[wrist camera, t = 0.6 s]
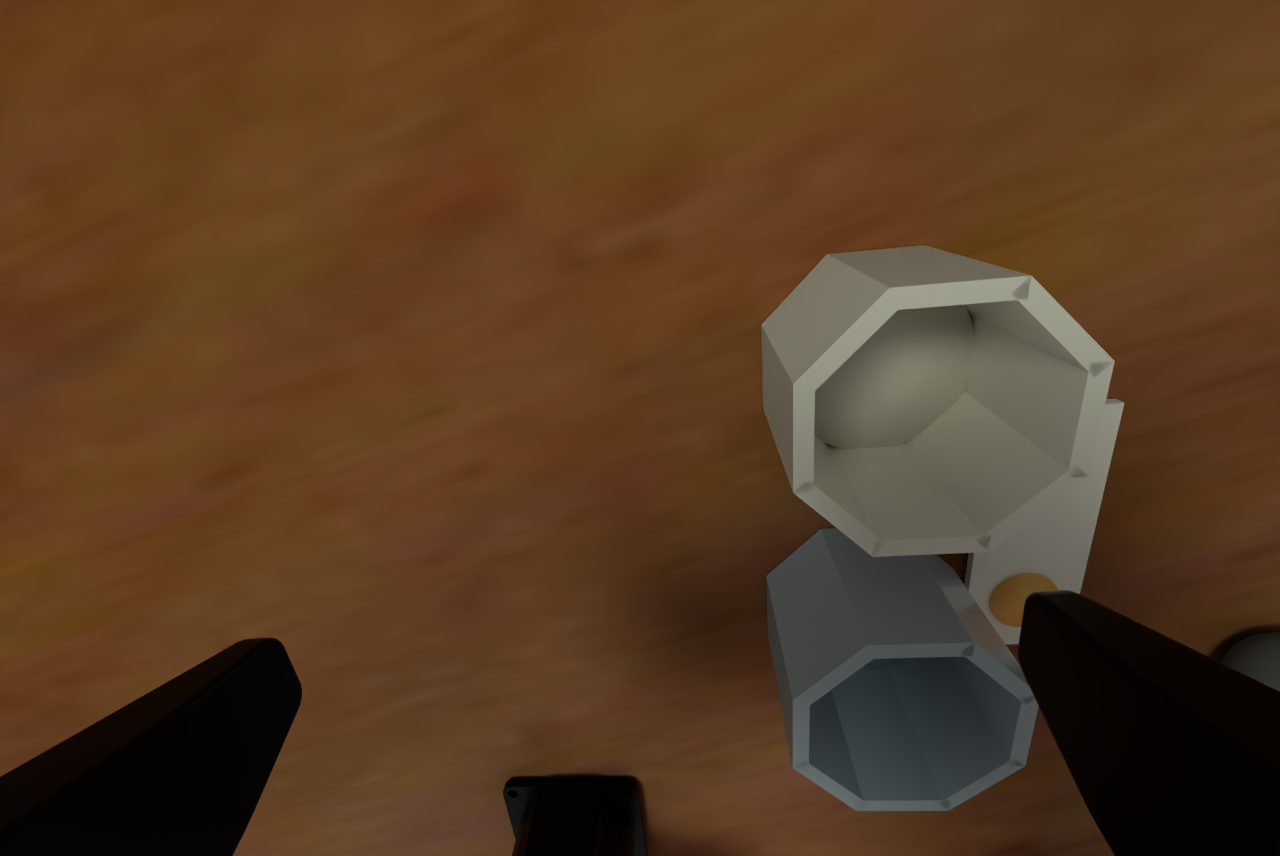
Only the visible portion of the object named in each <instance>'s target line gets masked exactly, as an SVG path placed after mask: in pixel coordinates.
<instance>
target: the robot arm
mask: <svg viewBox="0 0 1280 856" xmlns="http://www.w3.org/2000/svg"><path fill="white" fill-rule="evenodd" d="M1018 658H1019V663H1020V666H1021V669H1022V672H1023V674H1024V676H1025V678H1026V680H1027V683H1028V685H1029V687H1030V689H1031V691H1032V693H1033V695H1034V697H1035V699H1036V702H1037V704H1038V706H1039V708H1040V710H1041V712H1042V714H1043V716H1044V718H1045V720H1046V723H1047V725H1048V727H1049V729H1050V731H1051V733H1052V735H1053V737H1054V739H1055V742H1056V744H1057V746H1058V748H1059V750H1060V752H1061V754H1062V756H1063V758H1064V760H1065V763H1066V765H1067V767H1068V769H1069V771H1070V773H1071V775H1072V777H1073V779H1074V781H1075V784H1076V786H1077V788H1078V790H1079V792H1080V794H1081V796H1082V798H1083V800H1084V802H1085V804H1086V806H1087V808H1088V810H1089V812H1090V814H1091V815H1092V817H1093V819H1094V821H1095V822H1096V824H1097V826H1098V828H1099V829H1100V831H1101V833H1102V835H1103V836H1104V838H1105V840H1106V842H1107V843H1108V845H1109V847H1110V848H1111V850H1112V852H1113V853H1114V855H1115V856H1280V691H1278V690H1276V689H1274V688H1272V687H1269V686H1267V685H1265V684H1263V683H1261V682H1259V681H1257V680H1255V679H1253V678H1251V677H1249V676H1247V675H1245V674H1243V673H1241V672H1239V671H1237V670H1235V669H1232V668H1230V667H1228V666H1226V665H1224V664H1222V663H1220V662H1218V661H1216V660H1214V659H1212V658H1210V657H1208V656H1206V655H1204V654H1202V653H1200V652H1197V651H1195V650H1193V649H1191V648H1189V647H1187V646H1185V645H1183V644H1181V643H1179V642H1177V641H1175V640H1173V639H1171V638H1169V637H1167V636H1165V635H1162V634H1160V633H1158V632H1156V631H1154V630H1152V629H1150V628H1148V627H1146V626H1144V625H1142V624H1140V623H1138V622H1136V621H1134V620H1132V619H1130V618H1127V617H1125V616H1123V615H1121V614H1119V613H1117V612H1115V611H1113V610H1111V609H1109V608H1107V607H1105V606H1103V605H1101V604H1099V603H1097V602H1095V601H1092V600H1090V599H1088V598H1086V597H1084V596H1082V595H1080V594H1078V593H1076V592H1073V591H1069V590H1055V591H1039V592H1033V593H1031V594H1030V595H1028V597H1027V598H1026V600H1025V604H1024V610H1023V617H1022V624H1021V631H1020V638H1019V644H1018ZM301 698H302V688H301V684H300V681H299V679H298V677H297V674H296V672H295V670H294V668H293V665H292V663H291V661H290V659H289V657H288V654H287V652H286V650H285V648H284V646H283V644H282V643H281V642H280V641H279V640H277V639H274V638H256V639H246V640H242V641H239V642H237V643H235V644H234V645H232V646H230V647H228V648H227V649H225V650H223V651H221V652H220V653H218V654H216V655H214V656H212V657H211V658H209V659H207V660H205V661H204V662H202V663H200V664H198V665H197V666H195V667H193V668H191V669H190V670H188V671H186V672H184V673H183V674H181V675H179V676H177V677H175V678H174V679H172V680H170V681H168V682H167V683H165V684H163V685H161V686H160V687H158V688H156V689H154V690H153V691H151V692H149V693H147V694H146V695H144V696H142V697H140V698H138V699H137V700H135V701H133V702H131V703H130V704H128V705H126V706H124V707H123V708H121V709H119V710H117V711H116V712H114V713H112V714H110V715H109V716H107V717H105V718H103V719H101V720H100V721H98V722H96V723H94V724H93V725H91V726H89V727H87V728H86V729H84V730H82V731H80V732H79V733H77V734H75V735H73V736H72V737H70V738H68V739H66V740H65V741H63V742H61V743H59V744H57V745H56V746H54V747H52V748H50V749H49V750H47V751H45V752H43V753H42V754H40V755H38V756H36V757H35V758H33V759H31V760H29V761H28V762H26V763H24V764H22V765H20V766H19V767H17V768H15V769H13V770H12V771H10V772H8V773H6V774H5V775H3V776H1V777H0V856H233V854H234V852H235V850H236V848H237V846H238V844H239V842H240V840H241V838H242V836H243V834H244V832H245V830H246V828H247V825H248V823H249V821H250V819H251V817H252V815H253V812H254V810H255V808H256V806H257V803H258V801H259V799H260V796H261V794H262V792H263V789H264V787H265V785H266V783H267V780H268V778H269V776H270V773H271V771H272V769H273V766H274V764H275V762H276V760H277V757H278V755H279V753H280V750H281V748H282V746H283V743H284V741H285V739H286V736H287V734H288V732H289V730H290V727H291V725H292V723H293V720H294V718H295V716H296V713H297V711H298V709H299V706H300V703H301ZM503 795H504V799H505V803H506V806H507V810H508V813H509V817H510V821H511V824H512V828H513V831H514V835H515V839H516V841H515V845H514V849H513V853H512V856H648V851H647V845H646V838H645V831H644V824H643V817H642V810H641V804H640V797H639V790H638V785H637V783H636V782H635V781H634V780H632V779H628V778H588V779H510V780H508V781H507V782H506V783H505V787H504V790H503Z"/></svg>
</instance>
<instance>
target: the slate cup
mask: <svg viewBox="0 0 1280 856" xmlns="http://www.w3.org/2000/svg"><path fill="white" fill-rule="evenodd" d="M766 585H767V634H768V639H769V644H770V650H771V655H772V660H773V666H774V671H775V676H776V682H777V687H778V692H779V698H780V703H781V708H782V714H783V719H784V724H785V730H786V735H787V740H788V746H789V751H790V756H791V762H792V767H793V769H795V770H796V771H798V772H799V773H801V774H802V775H804V776H805V777H807V778H808V779H810V780H811V781H813V782H814V783H816V784H817V785H819V786H820V787H821V788H823V789H824V790H826V791H827V792H829V793H830V794H832V795H833V796H835V797H836V798H838V799H839V800H841V801H842V802H844V803H845V804H847V805H848V806H850V807H851V808H853V809H854V810H856V811H949V810H951V809H953V808H954V807H956V806H958V805H960V804H961V803H963V802H965V801H966V800H968V799H970V798H972V797H973V796H975V795H977V794H978V793H980V792H982V791H984V790H985V789H987V788H989V787H990V786H992V785H994V784H996V783H997V782H999V781H1001V780H1002V779H1004V778H1006V777H1008V776H1009V775H1011V774H1013V773H1014V772H1016V771H1018V770H1020V769H1021V768H1023V767H1025V766H1026V762H1027V757H1028V752H1029V748H1030V743H1031V739H1032V734H1033V730H1034V725H1035V721H1036V716H1037V712H1038V707H1039V706H1038V704H1037V702H1036V699H1035V697H1034V695H1033V693H1032V691H1031V689H1030V687H1029V685H1028V683H1027V680H1026V678H1025V676H1024V674H1023V672H1022V669H1021V666H1020V665H1019V663H1018V662H1017V660H1016V659H1015V658H1014V656H1013V655H1012V653H1011V652H1010V650H1009V649H1008V647H1007V646H1006V644H1005V643H1004V642H1003V640H1002V639H1001V637H1000V636H999V634H998V633H997V631H996V630H995V629H994V627H993V626H992V624H991V623H990V621H989V620H988V618H987V617H986V616H985V614H984V613H983V611H982V610H981V608H980V607H979V605H978V604H977V603H976V601H975V600H974V598H973V597H972V595H971V594H970V592H969V591H968V590H967V588H966V587H965V585H964V584H963V582H962V581H961V579H960V578H959V577H958V575H957V574H956V572H955V571H954V569H953V568H952V567H951V566H949V565H948V564H947V563H946V562H945V561H943V560H942V559H941V558H940V557H939V556H937V555H936V554H929V555H906V556H882V557H872V556H871V555H870V554H868V553H867V552H866V551H865V550H863V549H862V548H861V547H860V546H858V545H857V544H856V543H855V542H853V541H852V540H851V539H850V538H848V537H847V536H846V535H845V534H844V533H842V532H841V531H840V530H839V529H837V528H826V529H820V530H819V531H818V532H816V533H815V534H814V535H813V536H812V537H811V538H809V539H808V540H807V541H806V542H805V543H804V544H803V545H801V546H800V547H799V548H798V549H797V550H796V551H794V552H793V553H792V554H791V555H790V556H789V557H787V558H786V559H785V560H784V561H783V562H782V563H781V564H779V565H778V566H777V567H776V568H775V569H774V570H772V571H771V572H770V573H769V574H768V575H767V576H766Z"/></svg>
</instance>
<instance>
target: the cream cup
mask: <svg viewBox="0 0 1280 856" xmlns="http://www.w3.org/2000/svg"><path fill="white" fill-rule="evenodd" d="M761 332H762V383H763V409H764V412H765V414H766V417H767V420H768V423H769V426H770V429H771V432H772V434H773V437H774V440H775V443H776V446H777V449H778V451H779V454H780V457H781V460H782V463H783V466H784V468H785V471H786V474H787V477H788V480H789V483H790V486H791V488H792V491H793V493H794V494H795V495H796V496H798V497H799V498H800V499H801V500H803V501H804V502H805V503H806V504H808V505H809V506H810V507H811V508H813V509H814V510H815V511H816V512H817V513H819V514H820V515H821V516H822V517H824V518H825V519H826V520H827V521H829V522H830V523H831V524H832V525H834V526H835V527H836V528H837V529H839V530H840V531H841V532H842V533H844V534H845V535H846V536H847V537H848V538H850V539H851V540H852V541H853V542H855V543H856V544H857V545H858V546H860V547H861V548H862V549H863V550H865V551H866V552H867V553H868V554H870V555H871V556H872V557H882V556H906V555H929V554H952V553H976V552H989V551H991V550H992V549H993V548H995V547H996V546H997V545H999V544H1000V543H1001V542H1003V541H1004V540H1005V539H1007V538H1008V537H1009V536H1011V535H1012V534H1013V533H1015V532H1016V531H1017V530H1019V529H1020V528H1021V527H1023V526H1024V525H1025V524H1027V523H1028V522H1029V521H1031V520H1032V519H1033V518H1035V517H1036V516H1037V515H1039V514H1040V513H1041V512H1043V511H1044V510H1045V509H1047V508H1048V507H1050V506H1051V505H1052V504H1054V503H1055V502H1056V501H1058V500H1059V499H1060V498H1062V497H1063V496H1064V495H1066V494H1067V493H1068V492H1070V491H1071V490H1072V489H1074V488H1075V487H1076V486H1078V485H1079V484H1080V483H1082V482H1083V481H1084V480H1086V479H1087V478H1088V477H1089V475H1090V471H1091V466H1092V462H1093V457H1094V453H1095V448H1096V444H1097V439H1098V434H1099V430H1100V425H1101V421H1102V416H1103V412H1104V407H1105V403H1106V398H1107V394H1108V389H1109V384H1110V380H1111V375H1112V371H1113V366H1114V362H1115V361H1114V360H1113V359H1112V358H1111V357H1110V356H1109V355H1108V354H1107V353H1106V352H1105V351H1104V350H1103V349H1102V348H1101V347H1100V346H1099V345H1098V344H1097V343H1096V342H1095V340H1094V339H1093V338H1092V337H1091V336H1090V335H1089V334H1088V333H1087V332H1086V331H1085V330H1084V329H1083V328H1082V327H1081V326H1080V325H1079V324H1078V323H1077V322H1076V321H1075V320H1074V319H1073V318H1072V317H1071V316H1070V315H1069V314H1068V313H1067V312H1066V311H1065V310H1064V309H1063V308H1062V307H1061V306H1060V305H1059V304H1058V302H1057V301H1056V300H1055V299H1054V298H1053V297H1052V296H1051V295H1050V294H1049V293H1048V292H1047V291H1046V290H1045V289H1044V288H1043V287H1042V286H1041V285H1040V284H1039V283H1038V282H1037V281H1036V280H1035V279H1034V278H1033V277H1032V276H1031V275H1028V274H1024V273H1020V272H1017V271H1013V270H1010V269H1006V268H1003V267H999V266H996V265H992V264H989V263H985V262H982V261H978V260H975V259H971V258H968V257H964V256H961V255H957V254H953V253H950V252H946V251H943V250H939V249H936V248H932V247H929V246H925V245H921V246H910V247H900V248H889V249H878V250H867V251H856V252H846V253H835V254H827V255H826V256H825V257H824V258H823V259H822V260H821V261H820V262H819V263H818V264H817V266H816V267H815V268H814V269H813V270H812V271H811V272H810V273H809V274H808V275H807V276H806V277H805V278H804V280H803V281H802V282H801V283H800V284H799V285H798V286H797V287H796V288H795V289H794V290H793V291H792V292H791V293H790V295H789V296H788V297H787V298H786V299H785V300H784V301H783V302H782V303H781V304H780V305H779V306H778V307H777V309H776V310H775V311H774V312H773V313H772V314H771V315H770V316H769V317H768V318H767V319H766V320H765V321H764V322H763V324H762V325H761Z"/></svg>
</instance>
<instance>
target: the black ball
mask: <svg viewBox="0 0 1280 856" xmlns="http://www.w3.org/2000/svg"><path fill="white" fill-rule="evenodd" d="M1221 663H1222V664H1224V665H1226V666H1228V667H1230V668H1232V669H1235V670H1237V671H1239V672H1241V673H1243V674H1245V675H1247V676H1249V677H1251V678H1253V679H1255V680H1257V681H1259V682H1261V683H1263V684H1265V685H1267V686H1269V687H1272V688H1274V689H1276V690H1278V691H1280V632H1267V633H1260V634H1256V635H1252V636H1249V637H1247V638H1244V639H1242V640H1240V641H1239V642H1237V643H1236V644H1234V645H1233V646H1232V647H1231V648H1230V649H1229V650H1228V651H1227V652H1226V654H1225V655H1224V657H1223V659H1222V662H1221Z"/></svg>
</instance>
